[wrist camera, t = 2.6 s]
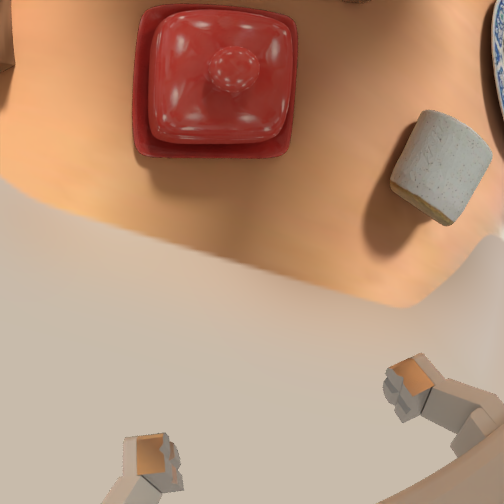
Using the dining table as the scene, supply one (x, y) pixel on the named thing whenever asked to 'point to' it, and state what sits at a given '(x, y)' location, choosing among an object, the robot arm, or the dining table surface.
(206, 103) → the butter dish
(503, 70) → the ceramic plate
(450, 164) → the ceramic mug
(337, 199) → the dining table surface
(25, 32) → the dining table surface
